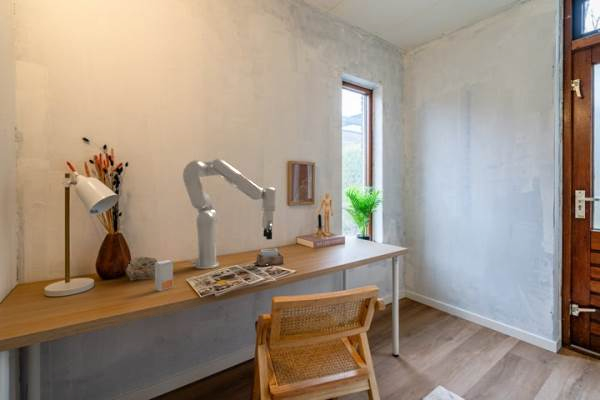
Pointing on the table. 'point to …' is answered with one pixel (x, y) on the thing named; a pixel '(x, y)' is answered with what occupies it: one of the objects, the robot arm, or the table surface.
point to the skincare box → (163, 275)
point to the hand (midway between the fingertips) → (267, 237)
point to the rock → (141, 268)
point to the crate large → (270, 260)
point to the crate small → (269, 253)
